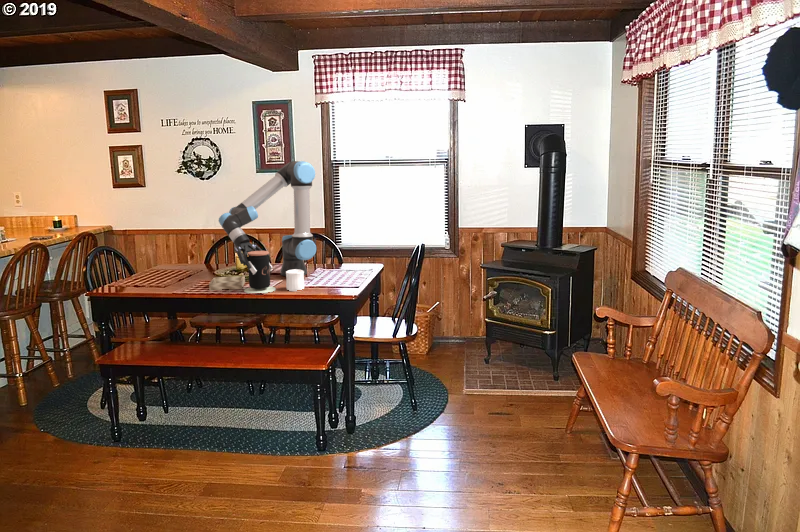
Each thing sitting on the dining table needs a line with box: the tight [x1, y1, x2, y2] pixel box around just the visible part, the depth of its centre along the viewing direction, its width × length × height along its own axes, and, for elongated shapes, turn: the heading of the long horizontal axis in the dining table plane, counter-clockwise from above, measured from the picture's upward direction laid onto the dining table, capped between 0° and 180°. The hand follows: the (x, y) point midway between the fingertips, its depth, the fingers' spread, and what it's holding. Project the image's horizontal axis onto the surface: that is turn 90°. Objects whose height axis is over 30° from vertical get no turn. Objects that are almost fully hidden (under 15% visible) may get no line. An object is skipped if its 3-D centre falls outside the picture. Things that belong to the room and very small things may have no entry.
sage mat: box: [243, 286, 277, 294], centre depth 338 cm, size 16×16×1 cm
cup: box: [285, 269, 305, 292], centre depth 338 cm, size 10×10×10 cm
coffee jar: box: [247, 250, 271, 289], centre depth 336 cm, size 11×11×18 cm
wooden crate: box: [208, 276, 246, 291], centre depth 349 cm, size 16×16×4 cm
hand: (263, 270), depth 334 cm, fingers closed on coffee jar, 11 cm apart
